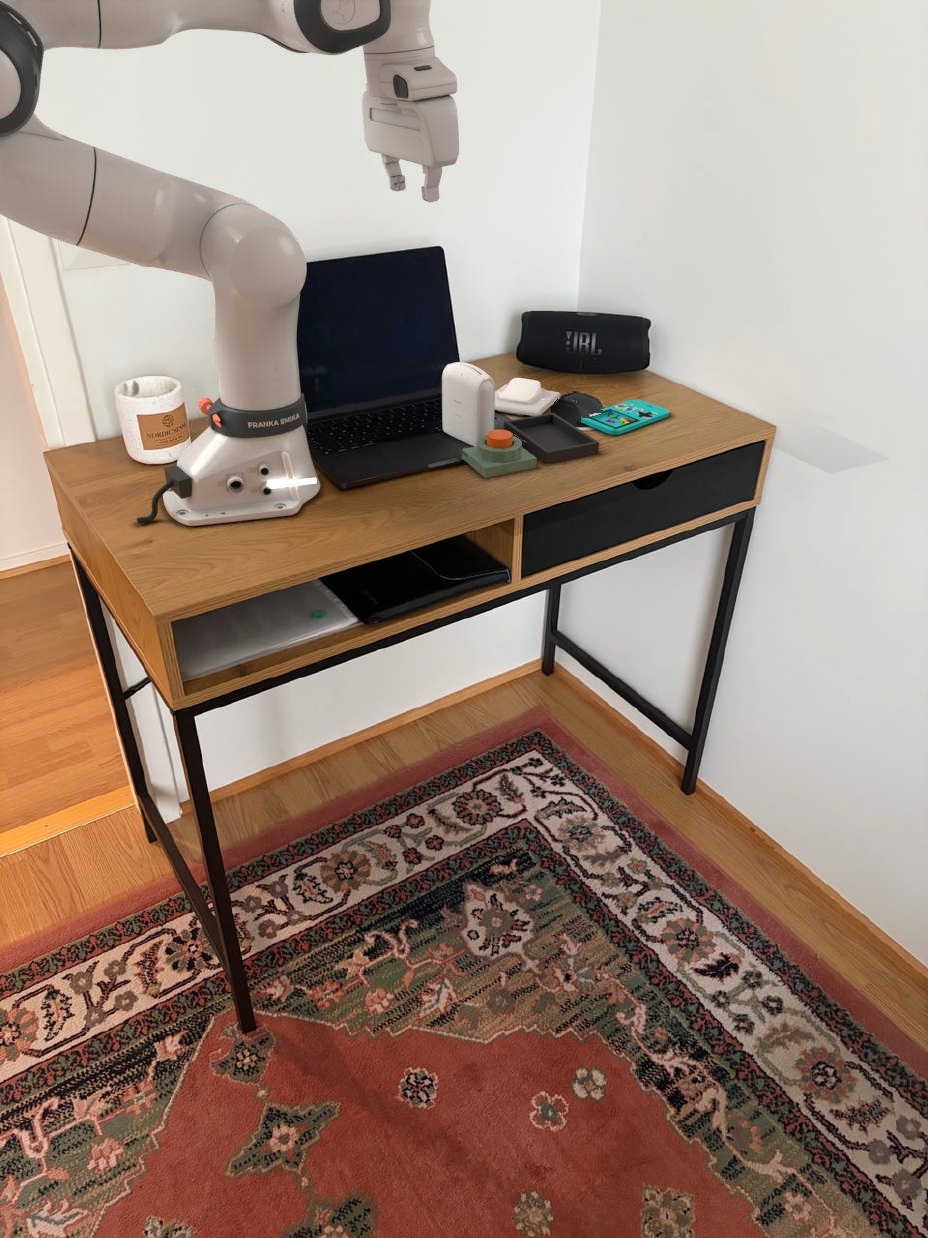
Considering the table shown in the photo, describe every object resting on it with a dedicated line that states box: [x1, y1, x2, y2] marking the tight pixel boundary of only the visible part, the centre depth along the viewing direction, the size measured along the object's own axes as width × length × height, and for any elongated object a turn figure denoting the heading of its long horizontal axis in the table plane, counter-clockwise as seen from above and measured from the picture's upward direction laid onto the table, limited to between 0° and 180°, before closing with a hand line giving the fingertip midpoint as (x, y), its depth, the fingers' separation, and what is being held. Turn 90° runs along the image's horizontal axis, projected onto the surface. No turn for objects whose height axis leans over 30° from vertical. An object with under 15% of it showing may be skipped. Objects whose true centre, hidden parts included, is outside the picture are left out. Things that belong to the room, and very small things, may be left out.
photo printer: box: [441, 361, 496, 447], centre depth 147 cm, size 10×4×12 cm, turn 39°
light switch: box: [494, 377, 561, 417], centre depth 163 cm, size 11×4×13 cm
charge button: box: [487, 428, 513, 449], centre depth 141 cm, size 4×4×2 cm
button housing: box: [461, 435, 538, 479], centre depth 142 cm, size 9×8×4 cm
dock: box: [503, 412, 600, 465], centre depth 149 cm, size 10×14×2 cm
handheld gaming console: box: [580, 399, 670, 436], centre depth 159 cm, size 8×1×15 cm
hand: (414, 195), depth 121 cm, fingers open, 8 cm apart
